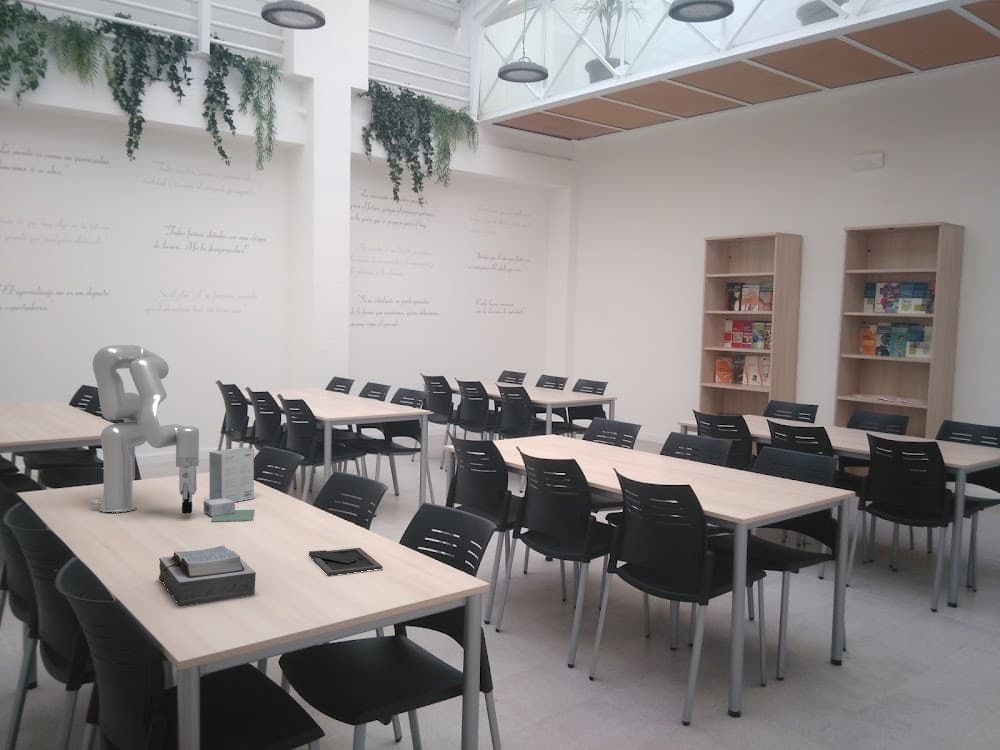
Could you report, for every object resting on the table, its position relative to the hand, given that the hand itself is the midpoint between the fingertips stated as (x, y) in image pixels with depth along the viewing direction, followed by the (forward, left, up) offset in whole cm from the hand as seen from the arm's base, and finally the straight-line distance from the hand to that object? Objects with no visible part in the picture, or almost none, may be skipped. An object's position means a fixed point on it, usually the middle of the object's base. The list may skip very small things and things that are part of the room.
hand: (187, 512), depth 285 cm
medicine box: (+6, +2, +1) cm, 7 cm away
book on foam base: (+13, -79, -2) cm, 80 cm away
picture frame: (+50, -63, -3) cm, 81 cm away
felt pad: (+16, 0, -2) cm, 16 cm away
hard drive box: (+14, +26, -2) cm, 29 cm away
